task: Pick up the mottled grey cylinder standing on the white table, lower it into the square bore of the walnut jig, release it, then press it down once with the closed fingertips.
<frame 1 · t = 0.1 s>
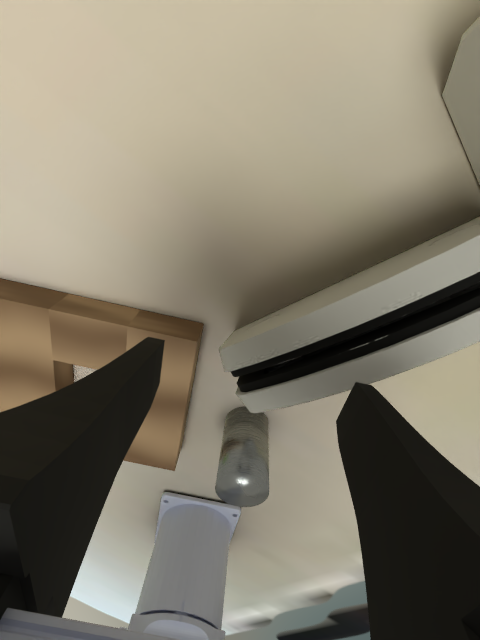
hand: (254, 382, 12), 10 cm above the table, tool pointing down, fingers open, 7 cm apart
mottled grey cylinder: (246, 423, 27), on the table
jig: (79, 368, 25), on the table
grey rounded piece: (349, 292, 21), on the table
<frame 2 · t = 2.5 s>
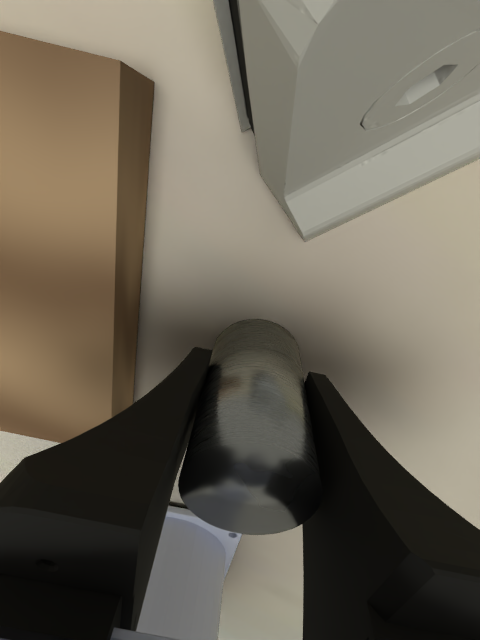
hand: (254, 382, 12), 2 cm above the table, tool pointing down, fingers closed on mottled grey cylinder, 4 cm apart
mottled grey cylinder: (255, 357, 13), on the table, touching gripper
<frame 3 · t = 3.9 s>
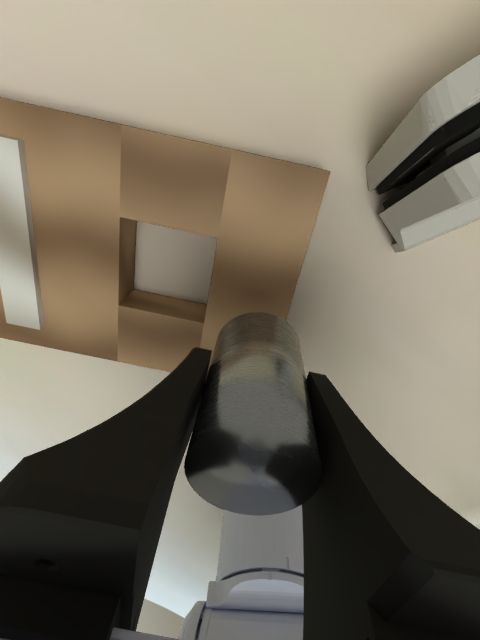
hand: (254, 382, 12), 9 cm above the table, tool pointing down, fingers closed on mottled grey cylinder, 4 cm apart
mottled grey cylinder: (257, 349, 14), point 7 cm above the table, touching gripper
jig: (143, 253, 19), on the table
when the fingers open (3 cm above the table, at t = 5.7 s): mottled grey cylinder stays where it is, resting in jig.
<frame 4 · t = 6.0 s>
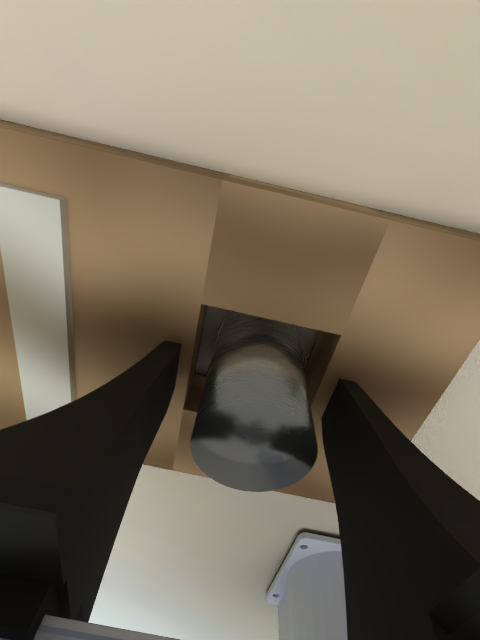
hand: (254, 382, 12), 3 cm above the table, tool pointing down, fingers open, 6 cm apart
mottled grey cylinder: (257, 340, 14), resting in jig
jig: (213, 332, 14), on the table
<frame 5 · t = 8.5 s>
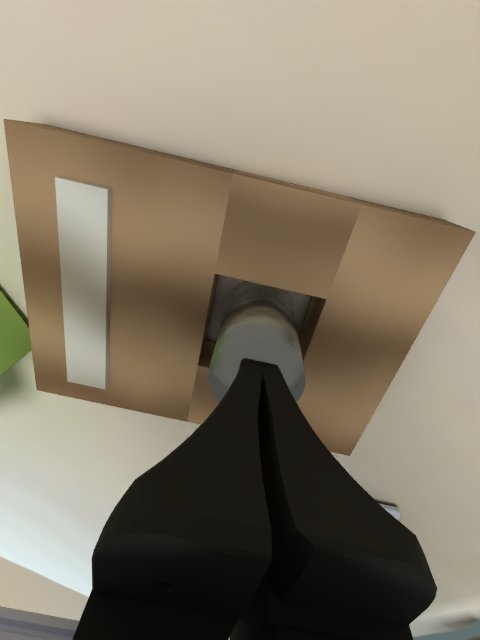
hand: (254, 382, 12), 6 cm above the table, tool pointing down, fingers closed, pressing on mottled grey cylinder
mottled grey cylinder: (259, 310, 17), resting in jig, touching gripper
jig: (222, 303, 17), on the table
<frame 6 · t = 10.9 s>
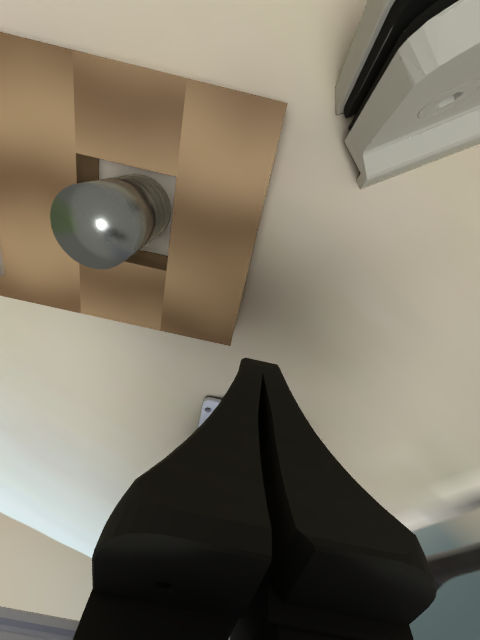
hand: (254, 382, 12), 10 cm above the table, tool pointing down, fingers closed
mottled grey cylinder: (140, 207, 19), resting in jig
jig: (107, 201, 19), on the table
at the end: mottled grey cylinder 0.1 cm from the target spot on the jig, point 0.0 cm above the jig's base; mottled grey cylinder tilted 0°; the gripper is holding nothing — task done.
